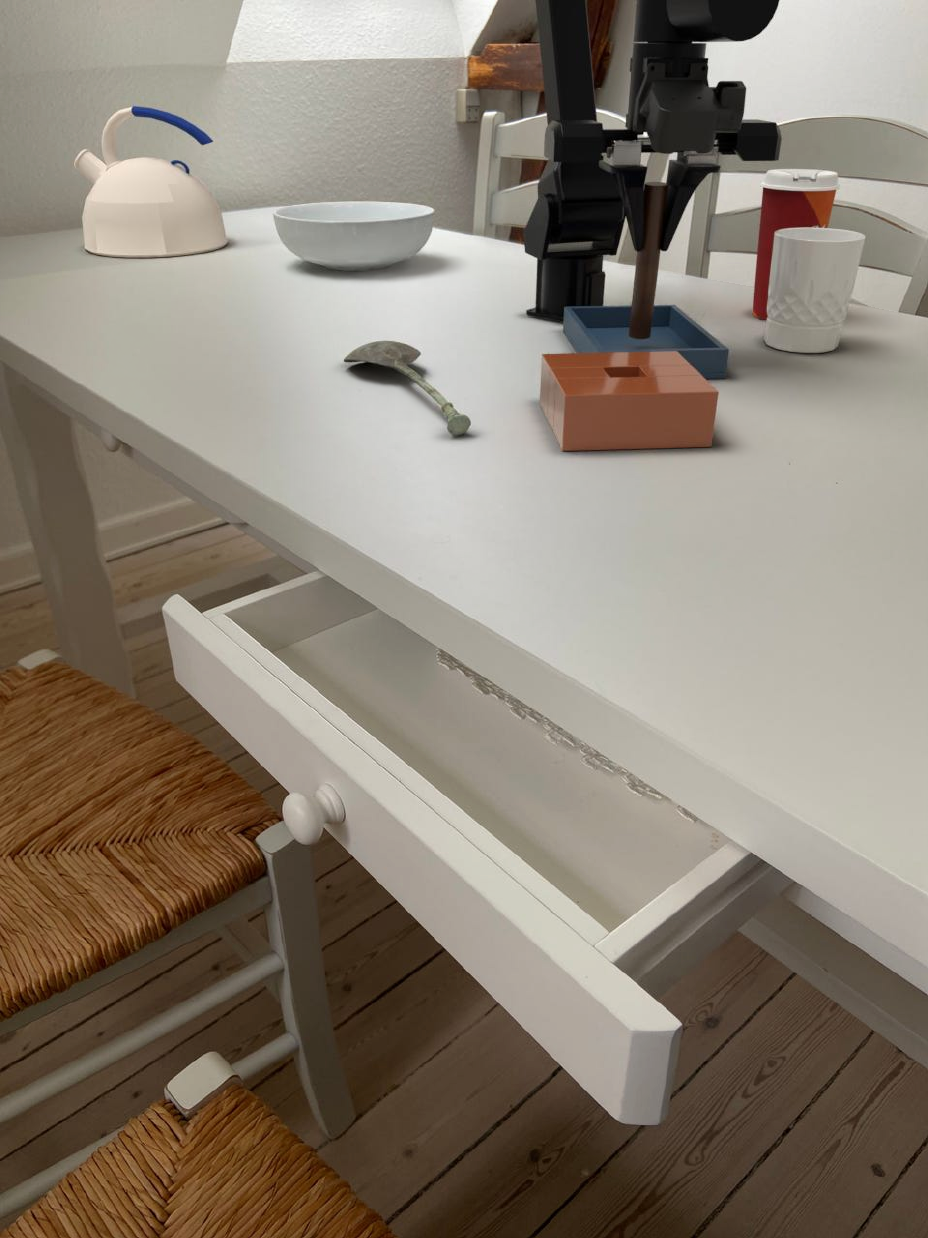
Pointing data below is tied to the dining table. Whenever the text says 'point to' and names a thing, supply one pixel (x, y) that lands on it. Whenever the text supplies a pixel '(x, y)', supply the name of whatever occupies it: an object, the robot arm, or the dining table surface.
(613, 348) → the tray
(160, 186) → the kettle
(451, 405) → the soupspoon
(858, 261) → the white cup
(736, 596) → the dining table surface
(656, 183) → the walnut stick
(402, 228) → the serving bowl
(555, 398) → the stick holder base
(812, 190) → the paper cup
